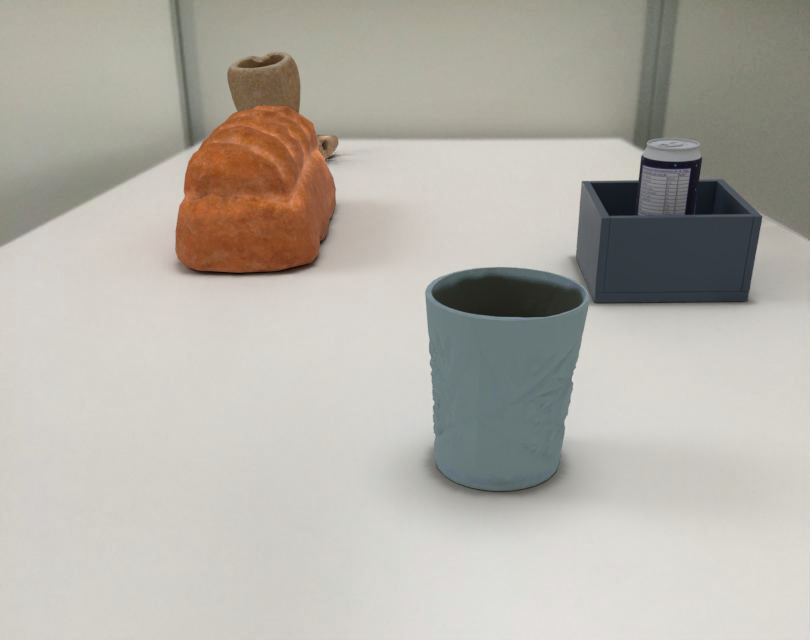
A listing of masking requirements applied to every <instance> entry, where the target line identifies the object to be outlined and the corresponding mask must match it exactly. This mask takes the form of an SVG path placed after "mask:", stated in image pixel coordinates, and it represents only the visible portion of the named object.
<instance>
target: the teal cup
mask: <svg viewBox="0 0 810 640" xmlns="http://www.w3.org/2000/svg"><path fill="white" fill-rule="evenodd" d="M424 294H425V295H424V296H425V308H426V323H427V333H428V340H429V341H428V353H429V355H430V360H429V366H430V368H431V371H430V377H431V385H432V386H431V387H432V390H431V393H432V401H433V402H434V403H433V405H432V410H433V411H432V413H433V414H432V422H433V433H434V435H435V436H434V442H433V448H434V459H435V463H436V466H437V469H438V470H439V471H440V473H441V474H442V475H443V476H445V477H446V478H447V479H449V480H451V481H452V482H453V483H456V484H458V485H460V486H461V485H462V486H465V487H468V488H471V489H475V490H476V489H477V490H482V491H492V492H508V491H509V492H510V491H511V492H512V491H518V490H524V489H528V488H532V487H535V486H537V485H539V484H541V483H544V482H545V481H547V480H549V479H550V478H552V476H554V474H555V473H556V472H557V469H558V468H559V465H560V460H561V456H562V449H563V443H564V437H565V434H566V433H565V432H566V425H565V421H566V419H567V417H568V416H569V408H570V405H571V398H572V393H573V391H574V382H573V380H572V379H573V376H574V374H575V373H574V370H576V368H577V363H578V359H579V356H580V350H581V346H582V341H583V335H584V330H585V327H586V321H587V316H588V311H589V306H590V302H591V296H590V295H589V290H588V289H586V287H585V286H584V285H583V284H582V283H580V282H578V281H576V280H575V279H573V278H571V277H567V276H566V275H565V276H564V275H561V274H557V273H554V272H550V271H545V270H540V269H539V270H538V269H533V268H527V267H525V268H524V267H515V266H514V267H513V266H512V267H510V266H490V267H489V266H488V267H487V266H486V267H473V268H467V269H462V270H458V271H457V270H456V271H453V272H450V273H446V274H444V275H441V276H439V277H437V278H436V279H433V280H432V281H431V282H430V283H429V284H428V285H427V286H426V288H425V292H424Z"/></svg>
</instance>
